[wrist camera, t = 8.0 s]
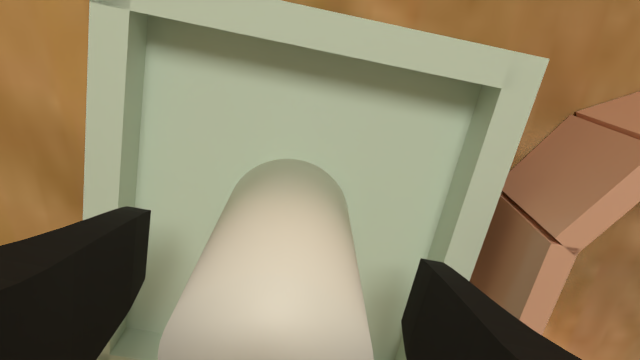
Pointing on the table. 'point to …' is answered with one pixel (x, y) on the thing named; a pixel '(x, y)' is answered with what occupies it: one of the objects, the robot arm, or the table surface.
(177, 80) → the tray
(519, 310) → the segmented salmon ring
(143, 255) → the robot arm
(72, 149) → the table surface
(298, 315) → the peg
